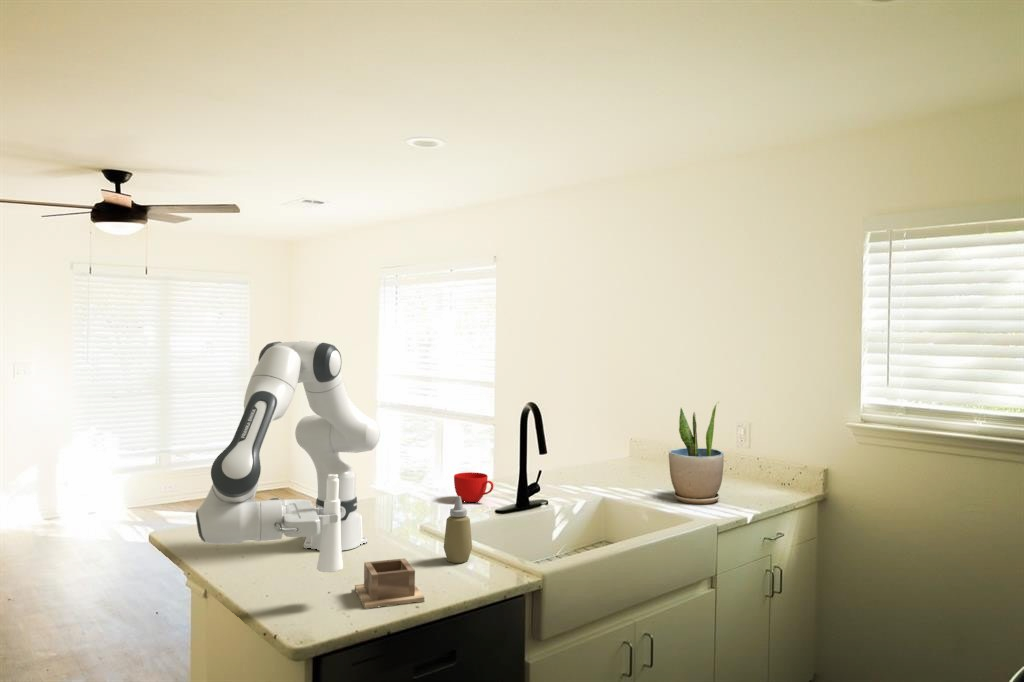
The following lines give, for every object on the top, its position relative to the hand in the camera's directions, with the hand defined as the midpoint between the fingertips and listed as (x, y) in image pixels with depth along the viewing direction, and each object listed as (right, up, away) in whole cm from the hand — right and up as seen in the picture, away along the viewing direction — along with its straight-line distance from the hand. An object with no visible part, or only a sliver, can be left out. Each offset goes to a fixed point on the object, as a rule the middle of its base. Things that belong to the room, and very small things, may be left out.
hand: (335, 515), depth 169 cm
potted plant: (+114, -22, +116) cm, 164 cm away
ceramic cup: (+27, -21, +107) cm, 113 cm away
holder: (+11, -21, +6) cm, 24 cm away
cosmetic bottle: (-1, -13, 0) cm, 13 cm away
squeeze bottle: (+26, -21, +34) cm, 48 cm away
